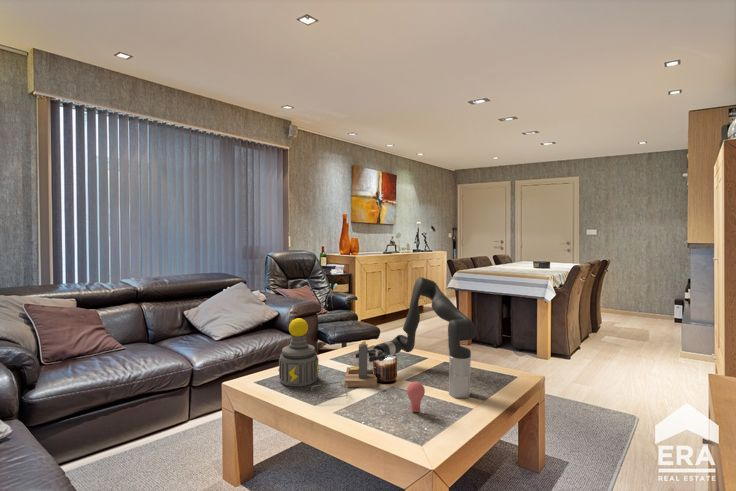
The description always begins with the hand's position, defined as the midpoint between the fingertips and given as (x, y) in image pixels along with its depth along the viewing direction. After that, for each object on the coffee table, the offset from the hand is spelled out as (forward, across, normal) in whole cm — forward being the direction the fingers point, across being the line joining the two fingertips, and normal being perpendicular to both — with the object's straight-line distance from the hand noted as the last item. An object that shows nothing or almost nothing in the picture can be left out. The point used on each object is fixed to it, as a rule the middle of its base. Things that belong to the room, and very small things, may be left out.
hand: (362, 357), depth 202 cm
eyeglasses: (+20, -1, +13) cm, 24 cm away
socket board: (-2, -3, +12) cm, 13 cm away
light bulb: (+9, +36, +12) cm, 39 cm away
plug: (0, 0, +9) cm, 9 cm away
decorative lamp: (+18, -26, +12) cm, 33 cm away
